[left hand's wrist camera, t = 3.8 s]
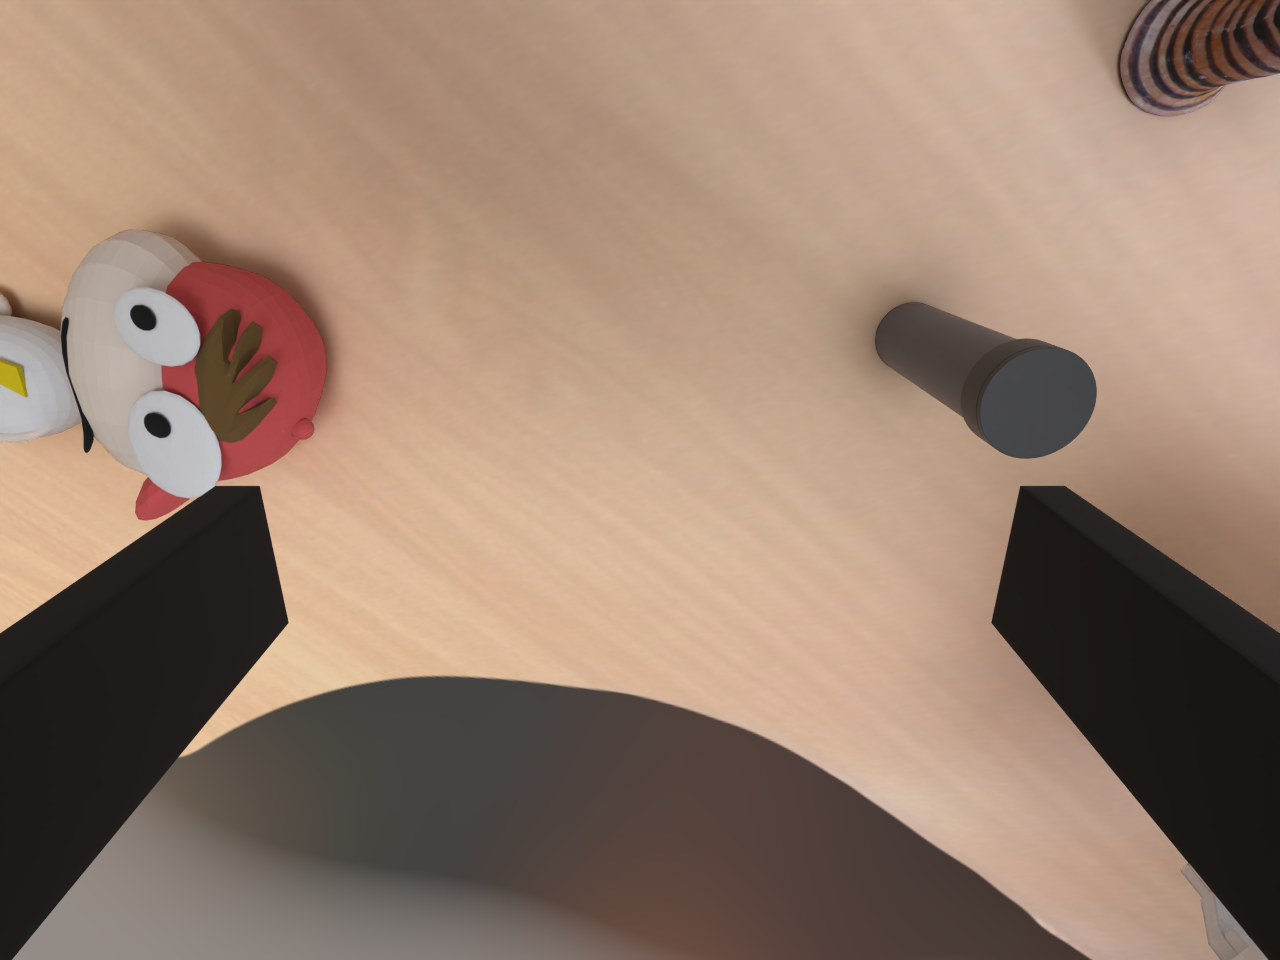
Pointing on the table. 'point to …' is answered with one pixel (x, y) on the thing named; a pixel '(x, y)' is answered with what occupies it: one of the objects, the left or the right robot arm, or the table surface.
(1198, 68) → the figurine
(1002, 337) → the dark grey bottle
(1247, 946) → the right robot arm
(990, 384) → the lid
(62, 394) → the toy
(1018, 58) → the table surface
